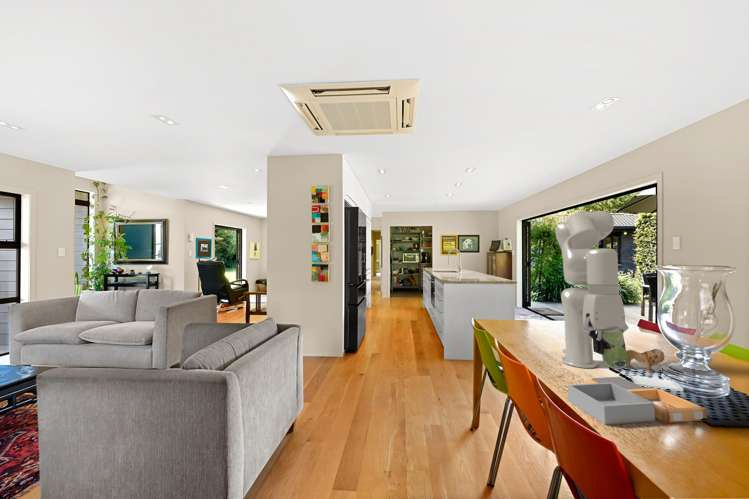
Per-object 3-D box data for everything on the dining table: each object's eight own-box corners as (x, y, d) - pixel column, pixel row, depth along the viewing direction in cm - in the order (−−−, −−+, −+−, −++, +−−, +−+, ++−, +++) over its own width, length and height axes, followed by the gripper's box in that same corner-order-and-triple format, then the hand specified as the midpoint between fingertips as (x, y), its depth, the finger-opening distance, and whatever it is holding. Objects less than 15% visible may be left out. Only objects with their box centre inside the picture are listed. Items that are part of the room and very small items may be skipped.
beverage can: (625, 362, 94) (617, 322, 95) (634, 371, 88) (625, 328, 88) (600, 362, 97) (593, 323, 98) (607, 371, 90) (598, 329, 91)
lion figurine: (667, 372, 120) (666, 349, 120) (663, 376, 117) (661, 351, 117) (621, 362, 132) (619, 341, 133) (615, 365, 129) (614, 343, 130)
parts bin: (568, 401, 99) (567, 384, 99) (611, 398, 100) (610, 382, 100) (605, 425, 85) (604, 406, 85) (655, 421, 86) (654, 403, 86)
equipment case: (588, 382, 113) (588, 373, 113) (619, 380, 114) (619, 372, 114) (668, 423, 84) (667, 412, 85) (709, 421, 85) (708, 409, 85)
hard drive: (635, 382, 109) (683, 389, 103) (630, 374, 116) (675, 380, 110) (635, 387, 109) (684, 394, 103) (630, 379, 116) (675, 385, 110)
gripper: (618, 288, 98) (621, 348, 97) (567, 290, 97) (570, 350, 96) (640, 290, 90) (644, 355, 90) (585, 292, 89) (588, 358, 88)
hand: (606, 352), depth 93 cm, fingers closed on beverage can, 3 cm apart
